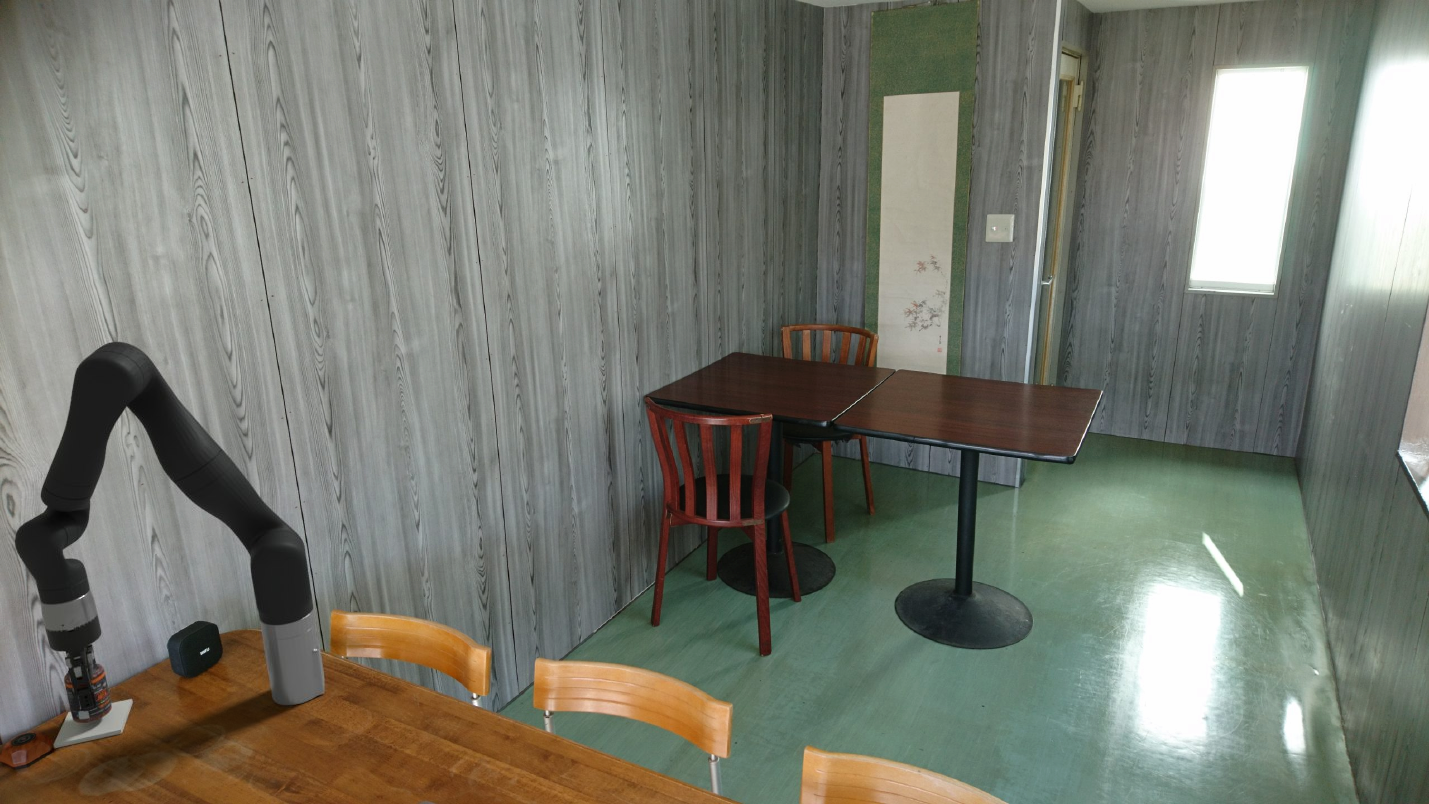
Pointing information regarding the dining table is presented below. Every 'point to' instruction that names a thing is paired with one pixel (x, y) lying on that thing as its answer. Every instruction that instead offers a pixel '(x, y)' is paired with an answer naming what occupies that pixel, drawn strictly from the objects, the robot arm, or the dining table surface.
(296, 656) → the robot arm
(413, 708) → the dining table surface
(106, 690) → the supplement bottle
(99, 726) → the coaster
